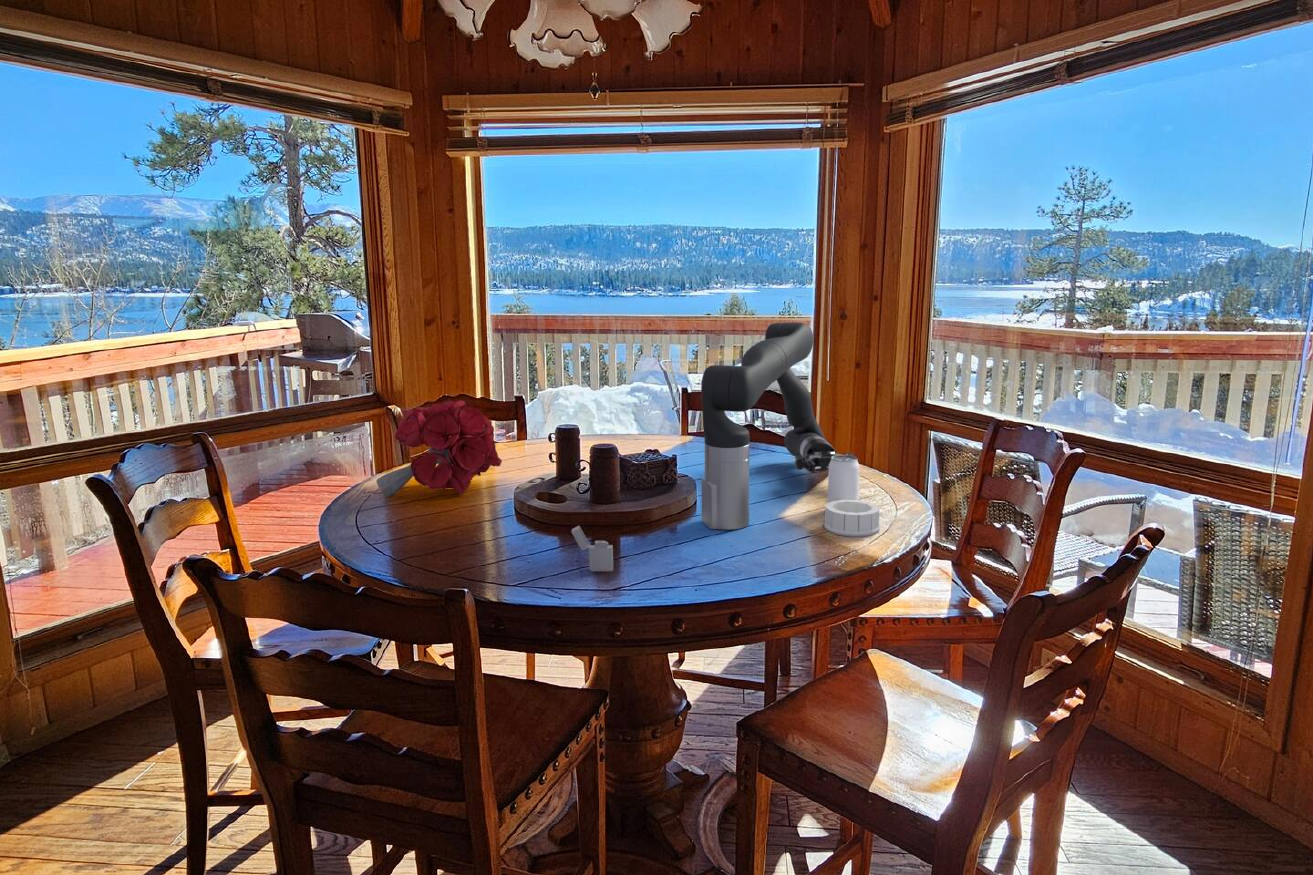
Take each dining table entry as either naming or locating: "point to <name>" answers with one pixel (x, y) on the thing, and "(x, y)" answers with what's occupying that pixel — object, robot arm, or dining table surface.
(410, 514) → the dining table surface
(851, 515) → the holder
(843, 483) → the can
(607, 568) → the lighter
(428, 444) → the bouquet
